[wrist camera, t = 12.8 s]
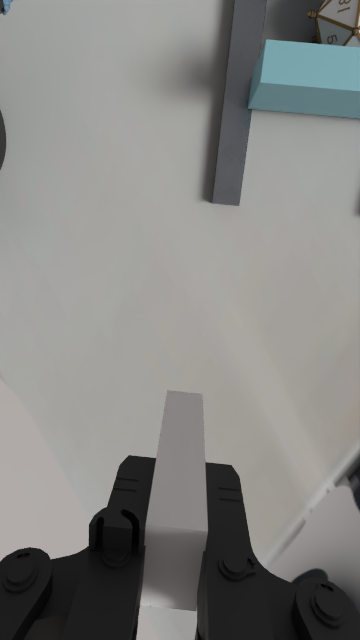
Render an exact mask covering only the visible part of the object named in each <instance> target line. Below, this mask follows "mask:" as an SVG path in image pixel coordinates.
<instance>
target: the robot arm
mask: <svg viewBox="0 0 360 640" xmlns="http://www.w3.org/2000/svg"><path fill="white" fill-rule="evenodd" d="M12 1H13V0H0V14H1V13H2V14H3V15H5V14H6V13H7V12H8V11H9V10H10V3H11V2H12ZM5 150H6V133H5V126H4V121H3V117H2V114H1V111H0V169H1V167H2V164H3V161H4V156H5ZM140 605H146V606H155V607H164V608H173V609H182V610H190V611H196V609H197V628H196V635H195V640H360V614H359V612H358V610H357V609H356V607H355V605H354V604H353V603H352V601H351V600H350V599H349V597H348V596H347V595H346V594H345V592H344V591H343V590H341V589H340V588H339V587H337V586H336V585H335V584H334V583H331V582H330V581H327V580H325V579H323V578H315V577H310V578H307V579H305V580H302V581H301V583H300V584H299V586H297V585H295V584H293V583H290V582H288V581H286V580H283V579H281V578H279V577H277V576H275V575H274V574H272V573H270V572H269V571H268V570H267V569H265V568H264V567H263V566H262V565H261V564H260V562H259V561H258V560H257V558H256V557H255V555H254V553H253V550H252V547H251V543H250V537H249V531H248V525H247V519H246V513H245V507H244V503H243V496H242V492H241V484H240V478H239V476H238V474H237V473H236V471H235V470H234V468H233V467H232V465H226V464H216V463H207V462H205V445H204V420H203V395H202V394H198V393H188V392H178V391H168V390H167V395H166V401H165V408H164V414H163V420H162V426H161V432H160V439H159V445H158V451H157V457H156V458H149V457H140V456H130V455H129V456H128V457H127V458H126V459H125V460H124V461H123V462H122V463H121V464H120V466H119V469H118V472H117V476H116V480H115V482H114V486H113V490H112V492H111V495H110V499H109V502H108V505H107V507H106V508H103V509H102V510H100V511H99V512H98V513H97V514H96V515H94V517H93V519H92V520H91V522H90V524H89V546H88V547H87V548H86V549H84V550H82V551H80V552H78V553H76V554H73V555H70V556H65V557H61V558H56V559H51V560H50V557H49V555H48V554H47V553H45V552H44V551H42V550H41V549H37V548H31V547H29V548H24V549H19V550H17V551H15V552H13V553H11V554H9V555H7V556H6V557H5V558H4V559H2V561H1V562H0V640H136V635H137V627H138V615H139V608H140Z"/></svg>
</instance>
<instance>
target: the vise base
mask: <svg viewBox="0 0 360 640" xmlns="http://www.w3.org/2000/svg"><path fill="white" fill-rule="evenodd" d="M266 2H267V0H235V1H234V10H233V19H232V28H231V37H230V46H229V55H228V64H227V73H226V82H225V91H224V100H223V109H222V118H221V127H220V136H219V145H218V154H217V163H216V172H215V181H214V190H213V199H212V203H214V204H224V205H235V206H239V203H240V196H241V188H242V181H243V173H244V166H245V158H246V151H247V143H248V136H249V128H250V121H251V113H252V109H248V102H249V94H250V87H251V79H252V74H253V71H254V69H255V66H256V64H257V61H258V59H259V54H260V46H261V39H262V31H263V24H264V17H265V9H266Z"/></svg>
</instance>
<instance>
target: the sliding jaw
mask: <svg viewBox="0 0 360 640" xmlns="http://www.w3.org/2000/svg"><path fill="white" fill-rule="evenodd" d="M248 109H259V110H270V111H281V112H292V113H303V114H314V115H326V116H337V117H348V118H359V119H360V47H348V46H337V45H325V44H314V43H302V42H290V41H279V40H267V39H266V41H265V44H264V46H263V49H262V51H261V54H260V56H259V59H258V61H257V64H256V66H255V69H254V71H253V74H252V79H251V87H250V94H249V102H248Z"/></svg>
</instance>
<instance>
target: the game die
mask: <svg viewBox="0 0 360 640" xmlns="http://www.w3.org/2000/svg"><path fill="white" fill-rule="evenodd" d="M307 15H308V17H309V18H314V17H315V22H316V33H317V36H314V37H312V39H311V40H310V42H312V43H314V42H315V43H316V41H318V44H325V45H337V46H348V47H360V0H324V1H323V3H322V5H321V6H320V8H319V10H318V11H317V12H315V11H312V10H311V11H310V12H308V13H307Z"/></svg>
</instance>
